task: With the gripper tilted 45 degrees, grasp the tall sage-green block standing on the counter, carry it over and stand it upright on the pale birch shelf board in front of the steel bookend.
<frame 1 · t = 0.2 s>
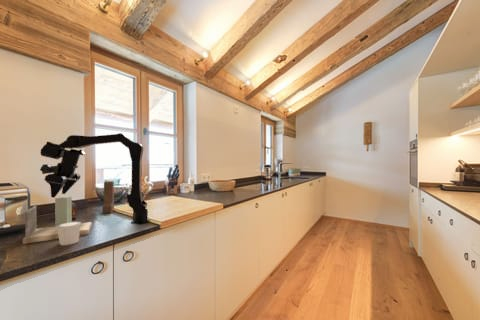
hand: (58, 195, 94), 15 cm above the countertop, tool tilted 15°, fingers open, 9 cm apart
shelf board: (61, 234, 88), on the countertop
tin: (68, 217, 113), on the countertop
white cup: (69, 242, 80), on the countertop
sage block: (63, 227, 97), on the countertop
wooden block: (108, 212, 124), on the countertop
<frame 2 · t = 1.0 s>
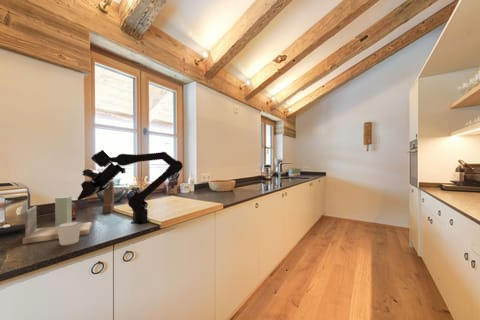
hand: (83, 197, 98), 13 cm above the countertop, tool tilted 45°, fingers open, 9 cm apart
nothing on the countertop moved.
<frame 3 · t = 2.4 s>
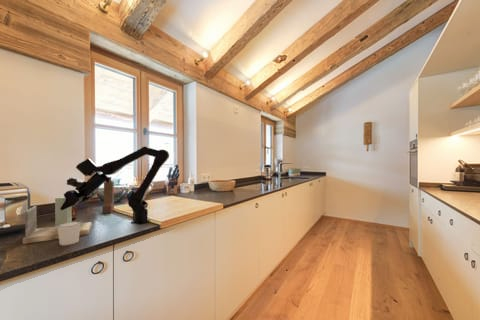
hand: (67, 207, 97), 9 cm above the countertop, tool tilted 45°, fingers open, 9 cm apart
nothing on the countertop moved.
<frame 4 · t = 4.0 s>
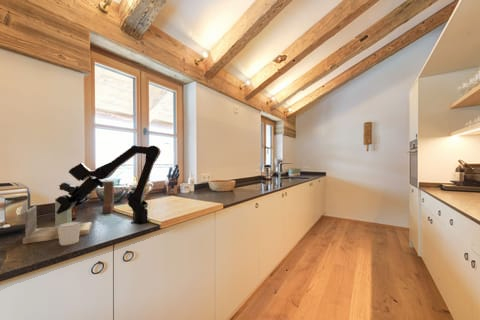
hand: (60, 212, 96), 7 cm above the countertop, tool tilted 45°, fingers closed on sage block, 4 cm apart
sage block: (63, 227, 97), on the countertop, touching gripper
everything else where it was.
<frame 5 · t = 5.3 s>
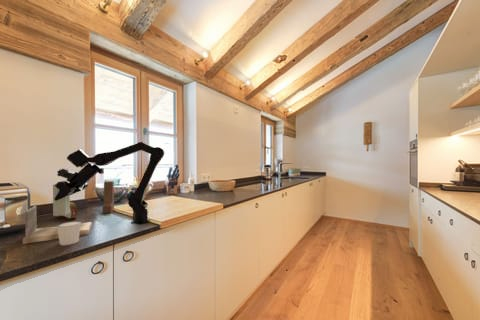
hand: (57, 199, 95), 13 cm above the countertop, tool tilted 45°, fingers closed on sage block, 4 cm apart
sage block: (61, 214, 95), point 6 cm above the countertop, touching gripper
everything else where it was.
when the fingers open (10 cm above the countertop, at t = 7.1 s): sage block stays where it is, resting on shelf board.
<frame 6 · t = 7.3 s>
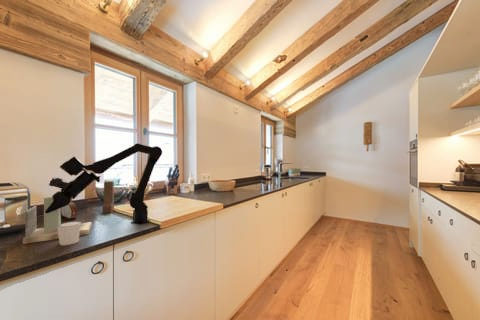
hand: (48, 211, 87), 10 cm above the countertop, tool tilted 45°, fingers open, 6 cm apart
sage block: (52, 229, 87), point 2 cm above the countertop, touching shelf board
everything else where it was.
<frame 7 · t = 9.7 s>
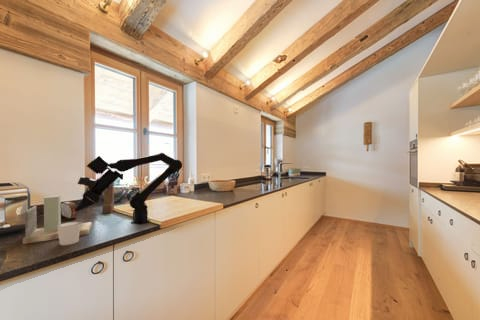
hand: (77, 207, 92), 10 cm above the countertop, tool tilted 45°, fingers open, 9 cm apart
nothing on the countertop moved.
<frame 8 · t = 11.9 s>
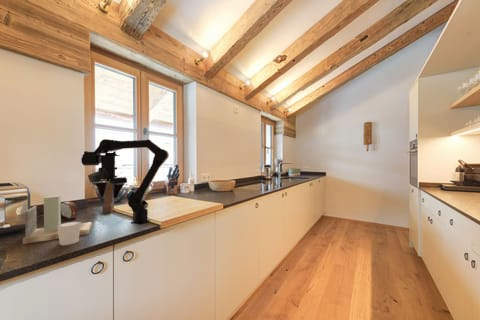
hand: (108, 197, 101), 13 cm above the countertop, tool pointing down, fingers open, 9 cm apart
nothing on the countertop moved.
at the end: sage block inside the target area on the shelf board (0.0 cm from its centre), point 2.0 cm above the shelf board's base; sage block tilted 0°; the gripper is holding nothing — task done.
